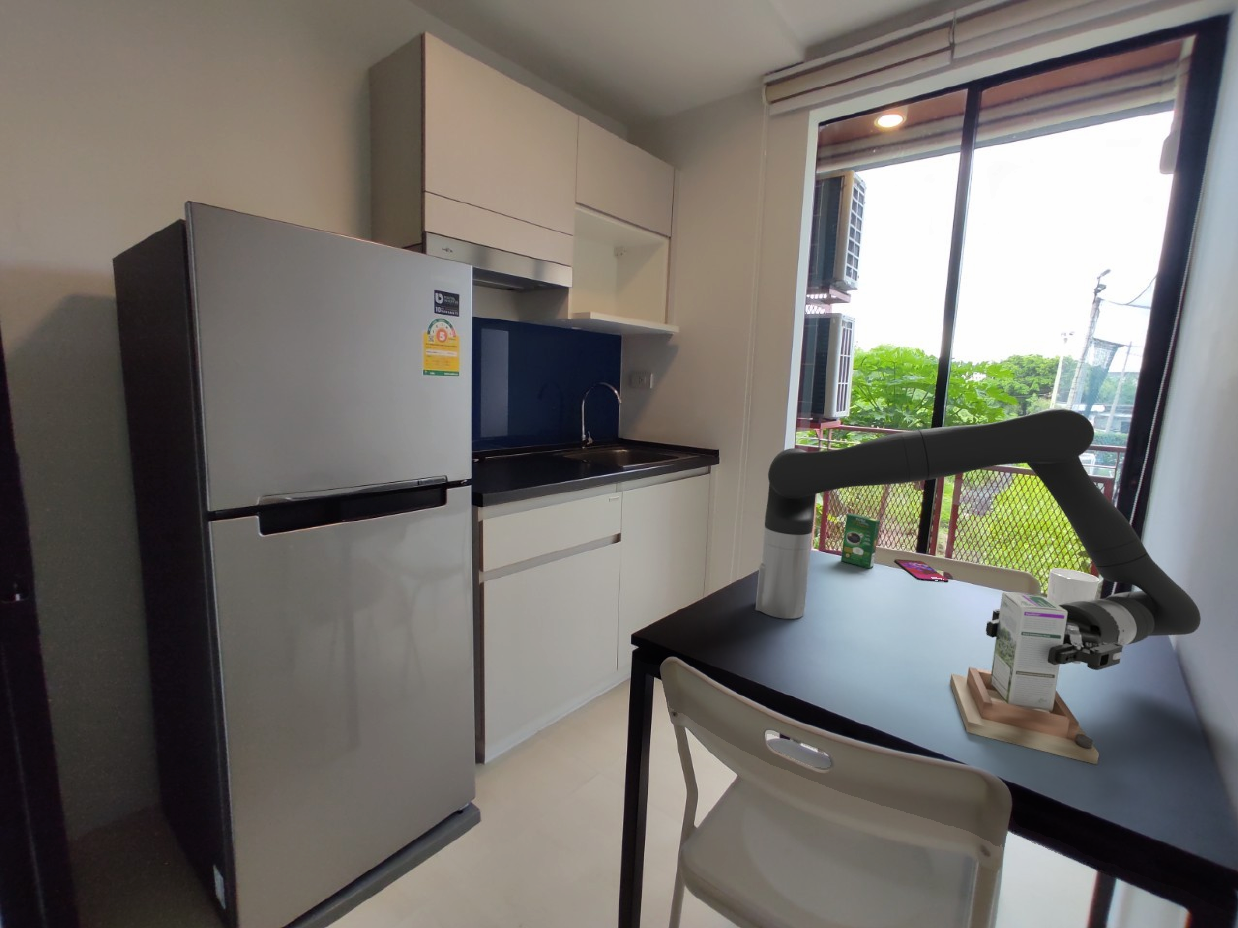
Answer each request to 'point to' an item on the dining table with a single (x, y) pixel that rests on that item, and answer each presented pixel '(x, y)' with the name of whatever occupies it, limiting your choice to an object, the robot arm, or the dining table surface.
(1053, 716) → the wooden cradle
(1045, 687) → the syrup box
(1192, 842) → the dining table surface
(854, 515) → the coffee box
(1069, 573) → the white cup
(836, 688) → the dining table surface
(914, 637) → the dining table surface
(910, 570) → the smartphone
